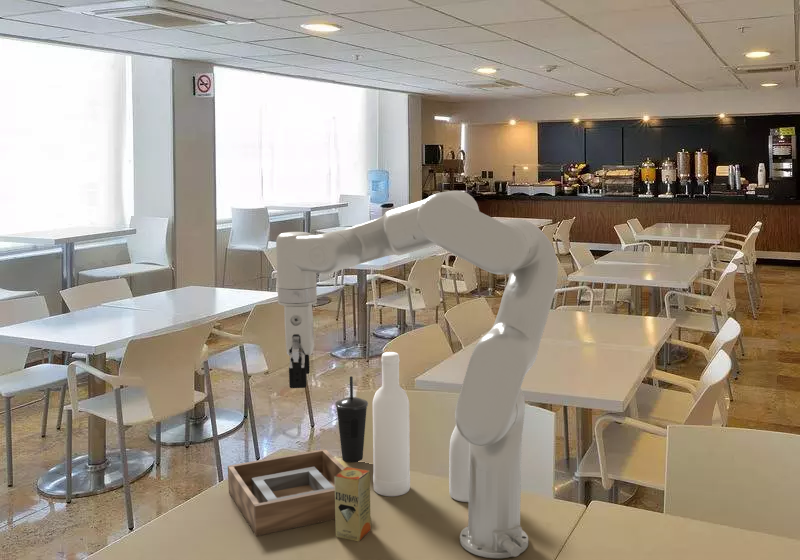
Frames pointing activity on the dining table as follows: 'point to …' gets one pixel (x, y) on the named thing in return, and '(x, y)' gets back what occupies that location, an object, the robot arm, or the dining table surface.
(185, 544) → the dining table surface
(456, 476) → the milk bottle
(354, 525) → the shoe polish box
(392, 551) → the dining table surface
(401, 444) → the bottle
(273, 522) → the walnut crate
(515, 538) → the robot arm
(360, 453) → the drinking cup
